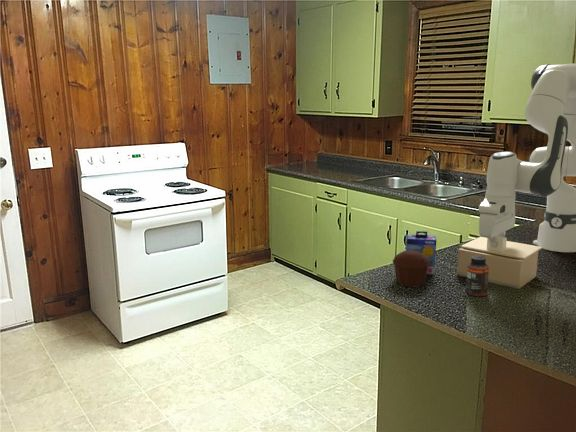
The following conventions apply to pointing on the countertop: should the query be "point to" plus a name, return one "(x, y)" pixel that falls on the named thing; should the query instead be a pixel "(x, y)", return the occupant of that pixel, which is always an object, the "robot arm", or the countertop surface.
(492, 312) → the countertop surface
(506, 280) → the carton
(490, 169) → the robot arm
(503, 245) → the carton lid
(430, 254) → the ink cartridge box
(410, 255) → the muffin
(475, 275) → the supplement bottle
